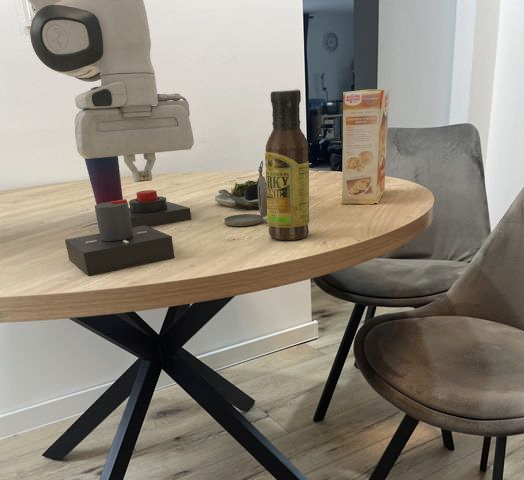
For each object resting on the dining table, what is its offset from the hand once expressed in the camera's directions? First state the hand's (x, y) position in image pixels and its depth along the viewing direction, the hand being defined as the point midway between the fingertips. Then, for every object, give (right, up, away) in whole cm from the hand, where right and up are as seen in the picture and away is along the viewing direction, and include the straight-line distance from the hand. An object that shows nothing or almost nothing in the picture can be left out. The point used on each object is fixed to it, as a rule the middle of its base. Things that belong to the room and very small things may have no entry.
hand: (143, 181), depth 91 cm
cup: (-9, -3, +13) cm, 16 cm away
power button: (0, -3, +2) cm, 4 cm away
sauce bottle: (+25, -13, -14) cm, 32 cm away
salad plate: (+21, 0, +15) cm, 26 cm away
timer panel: (+2, -17, -20) cm, 26 cm away
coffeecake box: (+42, +1, +12) cm, 44 cm away
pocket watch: (+19, -9, -3) cm, 21 cm away
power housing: (+1, -6, +3) cm, 7 cm away
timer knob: (+1, -15, -21) cm, 26 cm away
